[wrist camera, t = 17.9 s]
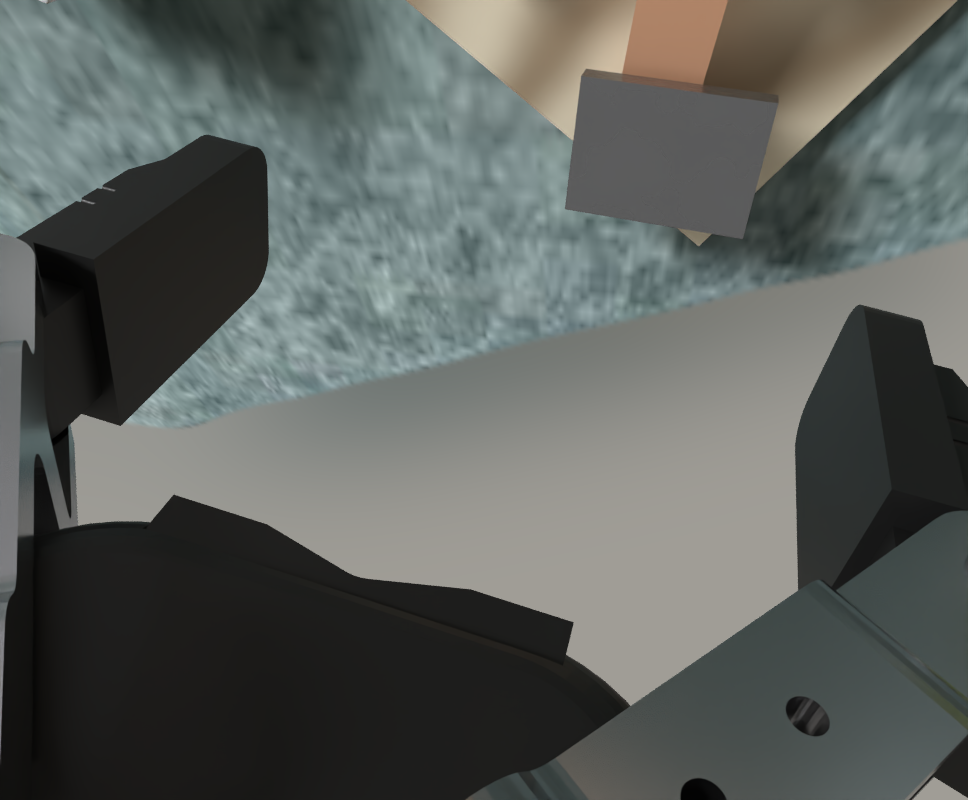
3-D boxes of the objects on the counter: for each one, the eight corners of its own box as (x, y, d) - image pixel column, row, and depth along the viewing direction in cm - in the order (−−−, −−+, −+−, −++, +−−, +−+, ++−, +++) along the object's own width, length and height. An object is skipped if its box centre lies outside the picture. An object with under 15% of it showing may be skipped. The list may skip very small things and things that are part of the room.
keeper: (605, 39, 35) (581, 75, 31) (778, 62, 34) (778, 103, 30) (588, 161, 38) (564, 209, 34) (747, 186, 37) (742, 239, 33)
